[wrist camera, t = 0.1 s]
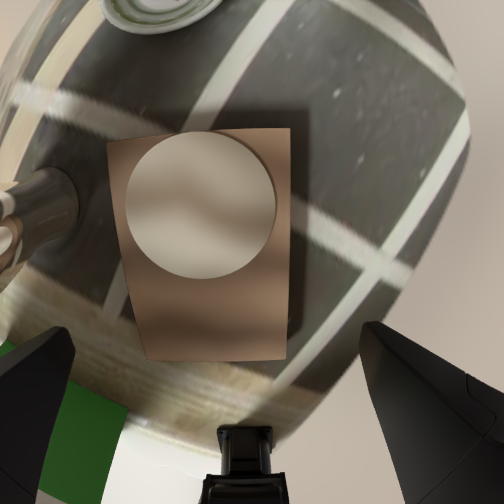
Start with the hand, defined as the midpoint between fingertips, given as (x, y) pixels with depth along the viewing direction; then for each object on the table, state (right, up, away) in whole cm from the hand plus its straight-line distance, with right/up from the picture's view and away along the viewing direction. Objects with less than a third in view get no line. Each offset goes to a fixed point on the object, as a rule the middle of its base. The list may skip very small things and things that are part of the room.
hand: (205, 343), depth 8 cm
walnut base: (-2, +2, +15) cm, 15 cm away
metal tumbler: (-15, +7, +13) cm, 21 cm away
